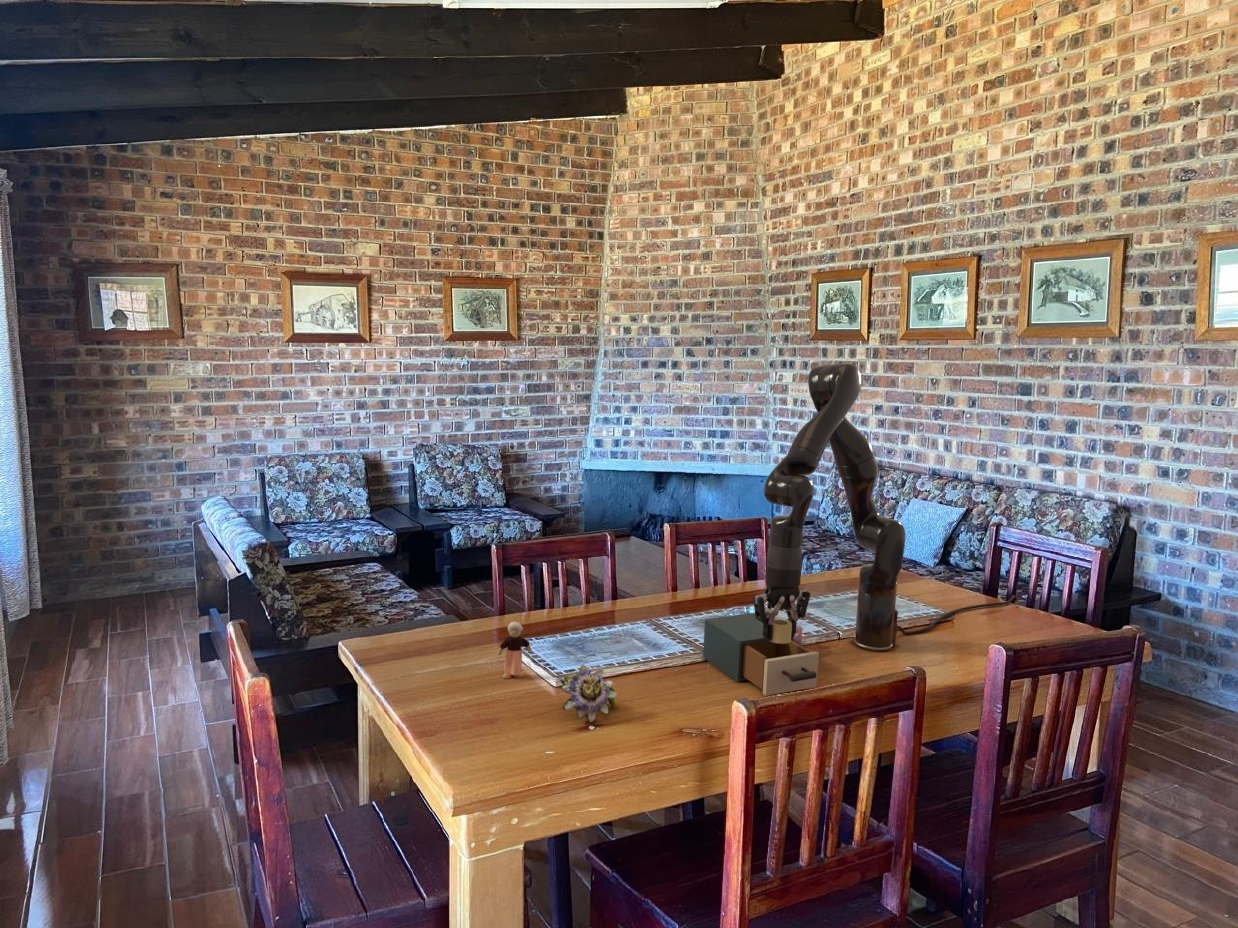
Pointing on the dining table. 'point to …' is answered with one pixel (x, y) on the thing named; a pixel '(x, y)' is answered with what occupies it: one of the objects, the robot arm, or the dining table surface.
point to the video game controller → (798, 636)
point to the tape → (781, 631)
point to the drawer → (779, 666)
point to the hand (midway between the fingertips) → (779, 637)
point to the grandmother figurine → (513, 650)
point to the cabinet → (730, 641)
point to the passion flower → (588, 693)
